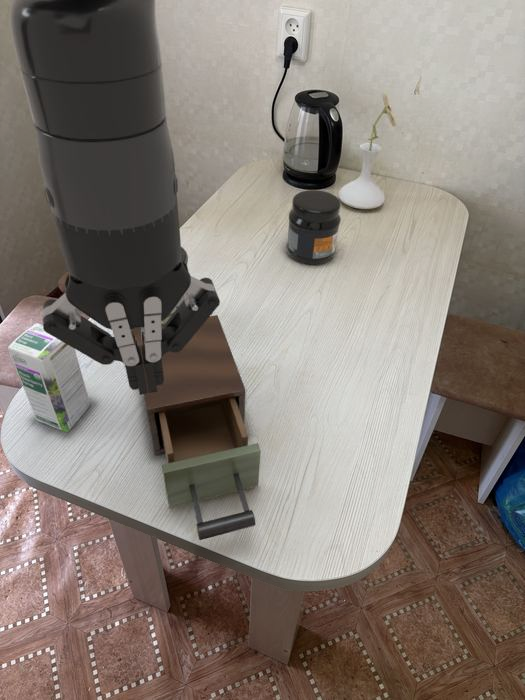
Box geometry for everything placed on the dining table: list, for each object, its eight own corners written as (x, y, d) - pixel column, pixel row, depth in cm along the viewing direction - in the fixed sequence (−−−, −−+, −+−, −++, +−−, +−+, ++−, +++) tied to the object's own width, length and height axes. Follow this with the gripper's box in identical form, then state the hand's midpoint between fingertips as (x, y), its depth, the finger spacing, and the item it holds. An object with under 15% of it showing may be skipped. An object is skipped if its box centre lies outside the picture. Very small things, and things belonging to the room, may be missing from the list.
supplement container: (344, 259, 107) (353, 207, 98) (300, 270, 103) (306, 217, 95) (318, 235, 113) (325, 184, 105) (277, 245, 110) (281, 193, 101)
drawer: (274, 535, 61) (279, 501, 55) (179, 561, 58) (173, 528, 53) (230, 403, 76) (230, 366, 70) (152, 419, 73) (146, 381, 67)
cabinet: (244, 435, 72) (245, 390, 66) (154, 455, 69) (146, 409, 63) (218, 360, 83) (217, 314, 77) (140, 374, 80) (131, 328, 73)
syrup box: (34, 421, 73) (3, 348, 63) (61, 393, 77) (35, 320, 67) (67, 433, 71) (41, 361, 61) (92, 404, 75) (71, 331, 65)
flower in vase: (376, 218, 120) (400, 107, 103) (331, 206, 124) (347, 97, 106) (390, 196, 129) (414, 90, 112) (347, 185, 132) (365, 81, 115)
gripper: (207, 160, 35) (213, 343, 47) (1, 177, 32) (63, 369, 44) (235, 212, 30) (234, 403, 42) (-8, 238, 27) (66, 437, 38)
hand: (146, 385), depth 43 cm, fingers closed
